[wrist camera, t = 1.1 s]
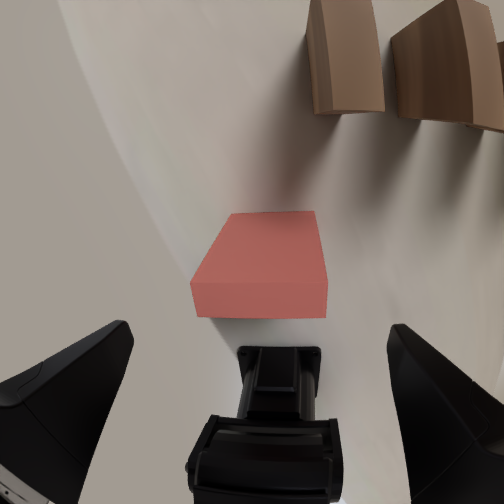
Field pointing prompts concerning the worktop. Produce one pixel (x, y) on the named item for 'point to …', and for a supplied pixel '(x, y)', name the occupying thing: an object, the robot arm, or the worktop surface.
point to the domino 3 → (450, 66)
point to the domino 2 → (344, 57)
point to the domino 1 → (263, 269)
